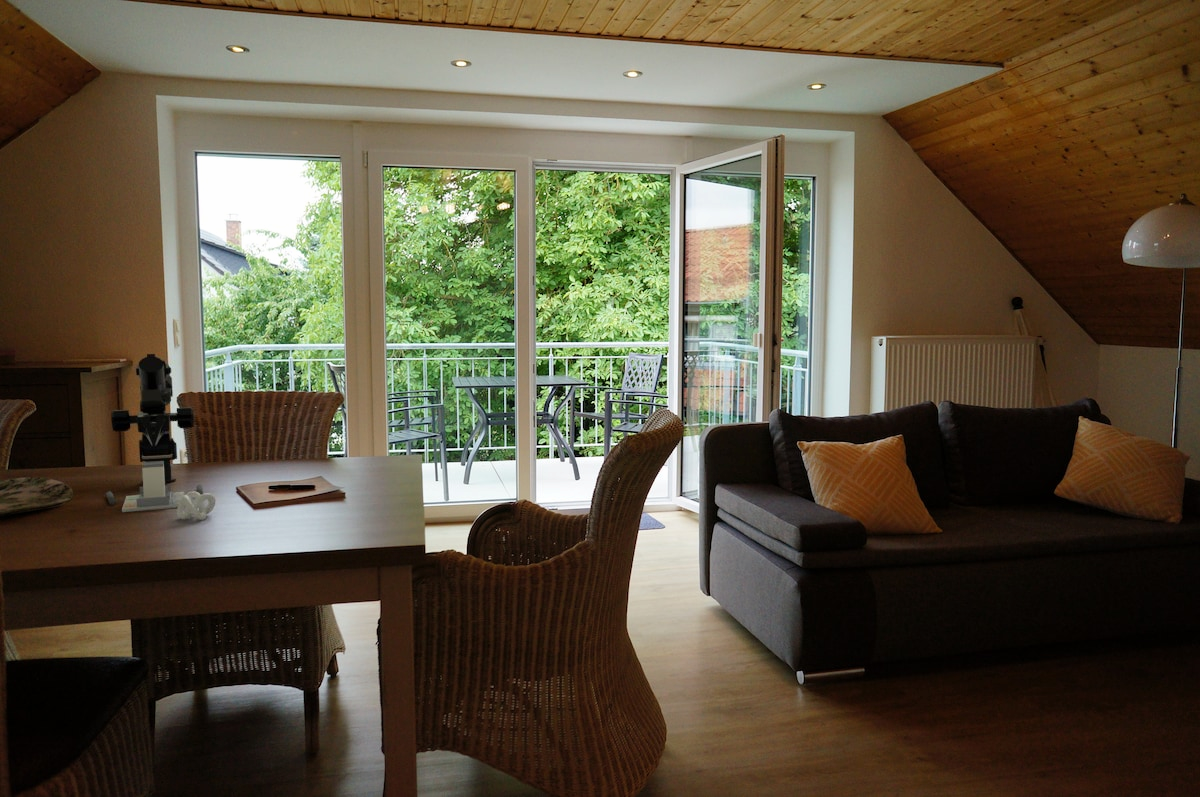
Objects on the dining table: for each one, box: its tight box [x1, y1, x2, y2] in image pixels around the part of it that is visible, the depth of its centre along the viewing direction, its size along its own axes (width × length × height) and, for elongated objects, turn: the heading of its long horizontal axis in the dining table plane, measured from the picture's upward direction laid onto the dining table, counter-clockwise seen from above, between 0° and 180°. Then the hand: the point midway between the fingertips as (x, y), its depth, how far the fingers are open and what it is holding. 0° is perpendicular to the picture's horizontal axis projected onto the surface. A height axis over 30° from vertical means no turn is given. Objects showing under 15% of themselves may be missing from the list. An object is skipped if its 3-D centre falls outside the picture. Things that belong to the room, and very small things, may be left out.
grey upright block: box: [141, 461, 166, 498], centre depth 206 cm, size 4×4×9 cm
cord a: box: [196, 484, 204, 495], centre depth 218 cm, size 12×1×1 cm, turn 26°
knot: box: [176, 490, 216, 521], centre depth 192 cm, size 8×8×6 cm
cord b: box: [105, 491, 117, 506], centre depth 209 cm, size 12×1×1 cm, turn 34°
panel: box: [121, 484, 185, 513], centre depth 207 cm, size 16×13×3 cm
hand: (153, 445), depth 213 cm, fingers closed
